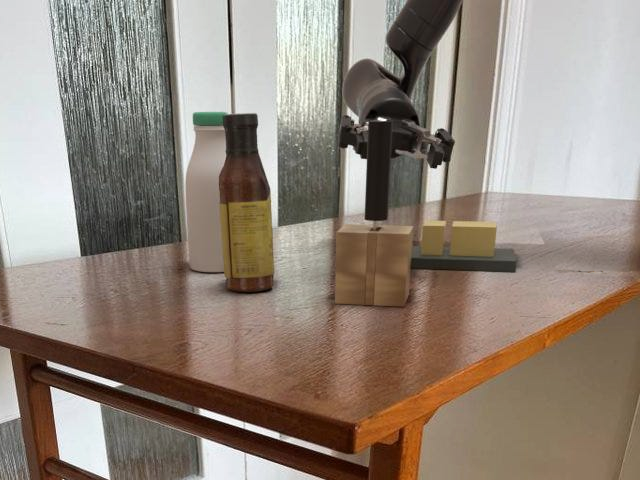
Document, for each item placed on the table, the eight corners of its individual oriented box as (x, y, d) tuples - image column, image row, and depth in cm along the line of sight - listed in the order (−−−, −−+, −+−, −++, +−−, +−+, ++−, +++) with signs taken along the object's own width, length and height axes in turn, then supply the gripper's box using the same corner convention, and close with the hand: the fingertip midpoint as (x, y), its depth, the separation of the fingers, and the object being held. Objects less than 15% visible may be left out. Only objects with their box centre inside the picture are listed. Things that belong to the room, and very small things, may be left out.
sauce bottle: (284, 288, 95) (283, 112, 86) (249, 296, 91) (244, 113, 82) (247, 281, 99) (243, 112, 90) (212, 289, 95) (203, 113, 86)
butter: (512, 259, 111) (517, 220, 109) (515, 272, 103) (520, 230, 100) (403, 255, 115) (405, 217, 112) (397, 268, 106) (399, 227, 104)
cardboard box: (408, 295, 91) (413, 225, 87) (404, 307, 85) (409, 233, 82) (342, 292, 92) (344, 224, 89) (334, 303, 87) (336, 231, 83)
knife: (384, 297, 90) (394, 120, 81) (382, 302, 87) (391, 121, 79) (363, 296, 90) (369, 121, 82) (360, 301, 88) (366, 121, 80)
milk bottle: (242, 273, 103) (237, 111, 95) (186, 273, 104) (176, 112, 95) (245, 263, 110) (241, 111, 101) (193, 263, 110) (184, 111, 102)
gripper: (340, 83, 99) (347, 113, 87) (445, 97, 100) (468, 129, 88) (331, 142, 104) (336, 179, 91) (431, 156, 105) (451, 194, 92)
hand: (401, 155), depth 90 cm, fingers open, 8 cm apart
